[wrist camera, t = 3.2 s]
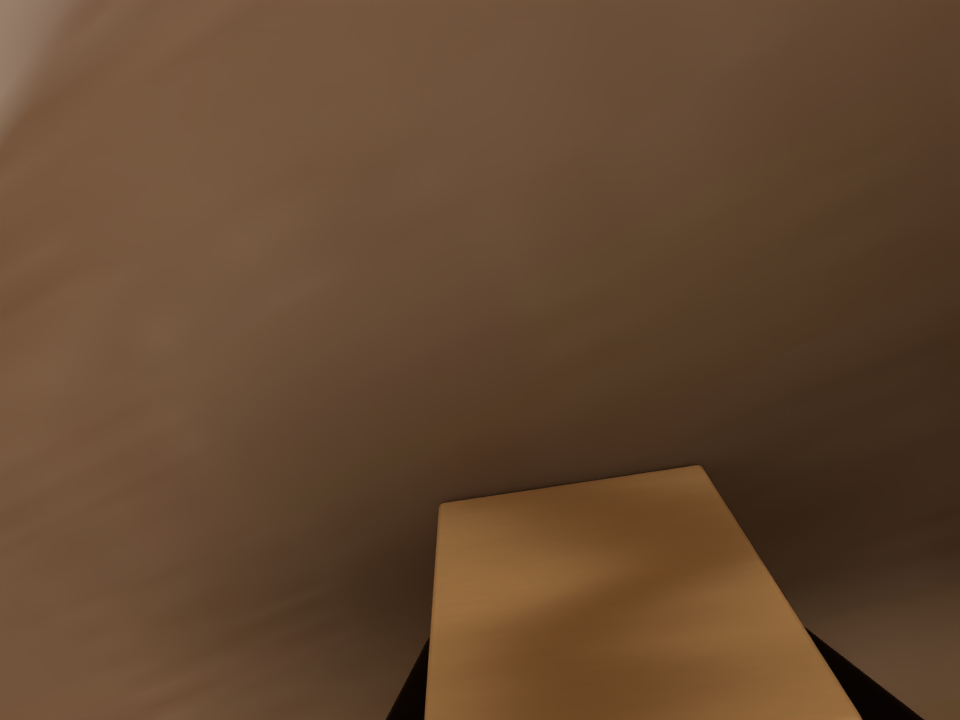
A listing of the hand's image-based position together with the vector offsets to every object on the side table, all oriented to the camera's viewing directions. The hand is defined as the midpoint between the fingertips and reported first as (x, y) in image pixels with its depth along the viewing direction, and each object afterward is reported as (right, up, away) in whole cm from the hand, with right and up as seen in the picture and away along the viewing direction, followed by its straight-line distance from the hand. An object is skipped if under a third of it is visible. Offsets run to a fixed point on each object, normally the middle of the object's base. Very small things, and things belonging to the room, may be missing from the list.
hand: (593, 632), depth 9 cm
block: (0, 0, +1) cm, 1 cm away
